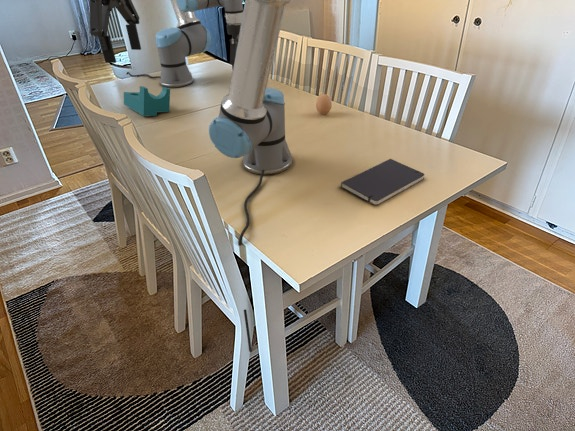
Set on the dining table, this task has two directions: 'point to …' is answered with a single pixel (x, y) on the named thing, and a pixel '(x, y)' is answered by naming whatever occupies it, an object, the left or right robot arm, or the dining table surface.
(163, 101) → the teal cradle holder
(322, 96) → the egg
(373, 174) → the notebook
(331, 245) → the dining table surface
